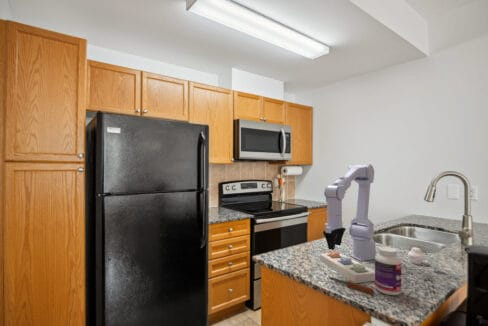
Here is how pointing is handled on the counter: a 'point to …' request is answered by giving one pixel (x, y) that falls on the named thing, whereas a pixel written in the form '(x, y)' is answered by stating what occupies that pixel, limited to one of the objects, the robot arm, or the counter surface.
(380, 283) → the pill bottle
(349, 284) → the kitchen knife
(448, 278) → the counter surface
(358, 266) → the green button
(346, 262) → the blue button
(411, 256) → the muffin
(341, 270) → the button panel
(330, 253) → the terracotta button
